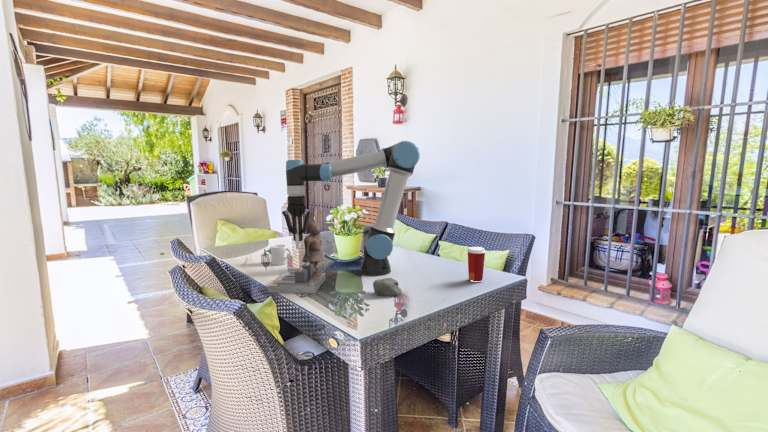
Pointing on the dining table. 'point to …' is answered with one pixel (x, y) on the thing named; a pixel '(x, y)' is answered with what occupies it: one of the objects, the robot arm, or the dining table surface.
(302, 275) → the slider near
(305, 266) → the block
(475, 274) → the beer glass
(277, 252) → the mug
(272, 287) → the switch unit
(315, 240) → the clay figurine
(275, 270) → the dining table surface
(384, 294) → the stone
